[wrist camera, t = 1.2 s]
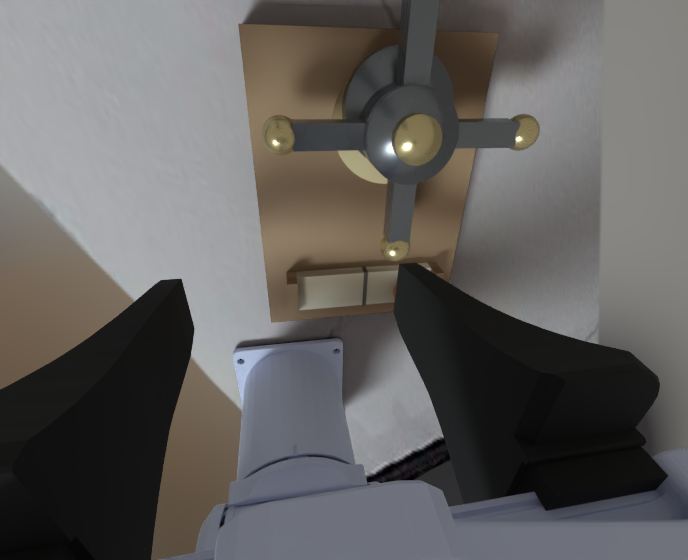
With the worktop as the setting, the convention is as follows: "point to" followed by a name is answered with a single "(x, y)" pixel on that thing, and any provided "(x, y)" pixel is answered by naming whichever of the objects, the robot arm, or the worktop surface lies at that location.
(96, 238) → the worktop surface
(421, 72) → the capstan
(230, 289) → the worktop surface
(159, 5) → the worktop surface
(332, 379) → the robot arm
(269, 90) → the valve wheel board
